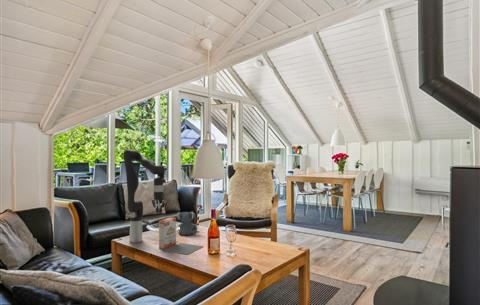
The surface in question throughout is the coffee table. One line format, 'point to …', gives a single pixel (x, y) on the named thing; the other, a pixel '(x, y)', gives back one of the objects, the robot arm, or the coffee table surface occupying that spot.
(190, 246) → the mat
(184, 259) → the coffee table surface
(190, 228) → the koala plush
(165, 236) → the cracker box
